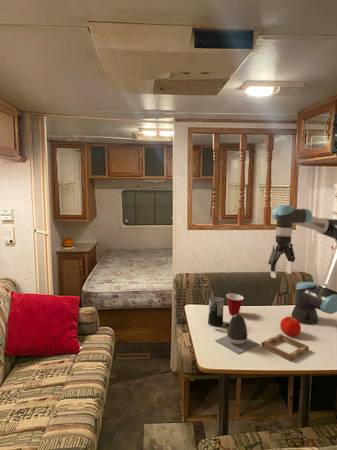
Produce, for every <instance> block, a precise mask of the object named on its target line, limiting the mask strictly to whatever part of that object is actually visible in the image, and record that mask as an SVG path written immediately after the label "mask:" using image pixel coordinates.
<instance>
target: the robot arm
mask: <svg viewBox="0 0 337 450" xmlns="http://www.w3.org/2000/svg"><path fill="white" fill-rule="evenodd" d="M271 218H272V219H274V220H276V227H275V228H276V231H275V234H276V235H275V243H277V245H275V244H273V246H272V251H271V253H270V256H269V260H268V261H267V264H269V265H270V277H271V278H274V279H276V278H277V268H278V266H277V263H278V261H279V259H280V257H281V255H283V254H284V256H285V257H286V259H287V260H286V266H285V267H286V269H285V273H286V274H289V275H291V274H292V271H293V263H294V262H295V260H296V256H295V252H294V247H293V246H294V245H293V243H292V235H293V234H292V230H293V225H295V226H299V227H303V228H306V229H310V230H313V231H315V232H316V233H317V234H321V235H324V236H327V237H329V238H331V239H334V242H335V244H336V245H335V248H334V250H333V252H332V253H333V254H332V256H331V259H330V262H329V264H328V267H327V270H326V273H325V276H324V279H323V280H322V281H323V282H322V283H320V284H318V283H316V282H311V281H301V282H298V283H297V284H296V288H295V300H294V301H295V303H294V307H293V309H292V311H291V316H290V317H292V318H296V319H297V320H298V321H299V324H304V325H315V324H317V323H319V316H318V312H317V310H319V311H321V312H323V313H326V314H329V315H332V314H335V313H337V218H336V219H332V218H326V217H317V216H313V214H312V211H311V210H309V209H308V208H295V207H294V206H293V205H291V204H289V205H288V204H287V205H286V204H281V205H280V204H279V205H278V206H275V207H274V208H273V209H272V211H271Z"/></svg>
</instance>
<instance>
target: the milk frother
mask: <svg viewBox="0 0 337 450" xmlns="http://www.w3.org/2000/svg"><path fill="white" fill-rule="evenodd" d="M224 301H225V299H224V298H223V297H220V296H210V297H208V302H209V303H208V318H207V324H208V325H210V326H212V327H213V326H214V327H220V326H224V327H229V323H224V304H225V302H224Z"/></svg>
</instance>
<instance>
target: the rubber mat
mask: <svg viewBox="0 0 337 450" xmlns="http://www.w3.org/2000/svg"><path fill="white" fill-rule="evenodd" d="M214 342H216V343H218V344H220V345H221V346H223V347H225V348H227V349H228V350H230V351H232V352H234V353H236V354H237V355H240V354H242V353H245V352H247V351H250V349H253V348H255V347H257V346H260V343H258V342H256V341H254V340H252V339H250V338H248V337H247V339H246V341H245V342H244V343H243V344H240V345H236V344H233V343H232V342H230V340H229V338H228V336H227V335H225V336H223V337H219V338H217V339H215V340H214Z"/></svg>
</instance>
